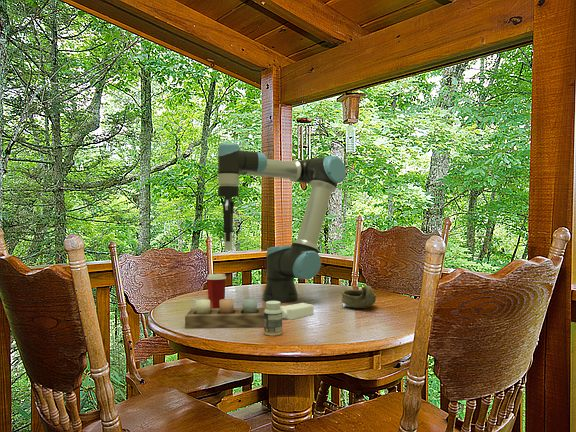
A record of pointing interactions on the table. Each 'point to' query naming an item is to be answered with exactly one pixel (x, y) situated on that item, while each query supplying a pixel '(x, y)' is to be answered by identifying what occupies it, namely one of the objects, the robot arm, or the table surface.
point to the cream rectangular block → (297, 311)
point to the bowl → (359, 297)
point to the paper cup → (216, 289)
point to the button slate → (249, 305)
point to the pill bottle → (273, 318)
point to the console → (225, 319)
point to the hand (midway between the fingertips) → (228, 250)
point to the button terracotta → (226, 306)
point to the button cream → (203, 306)
